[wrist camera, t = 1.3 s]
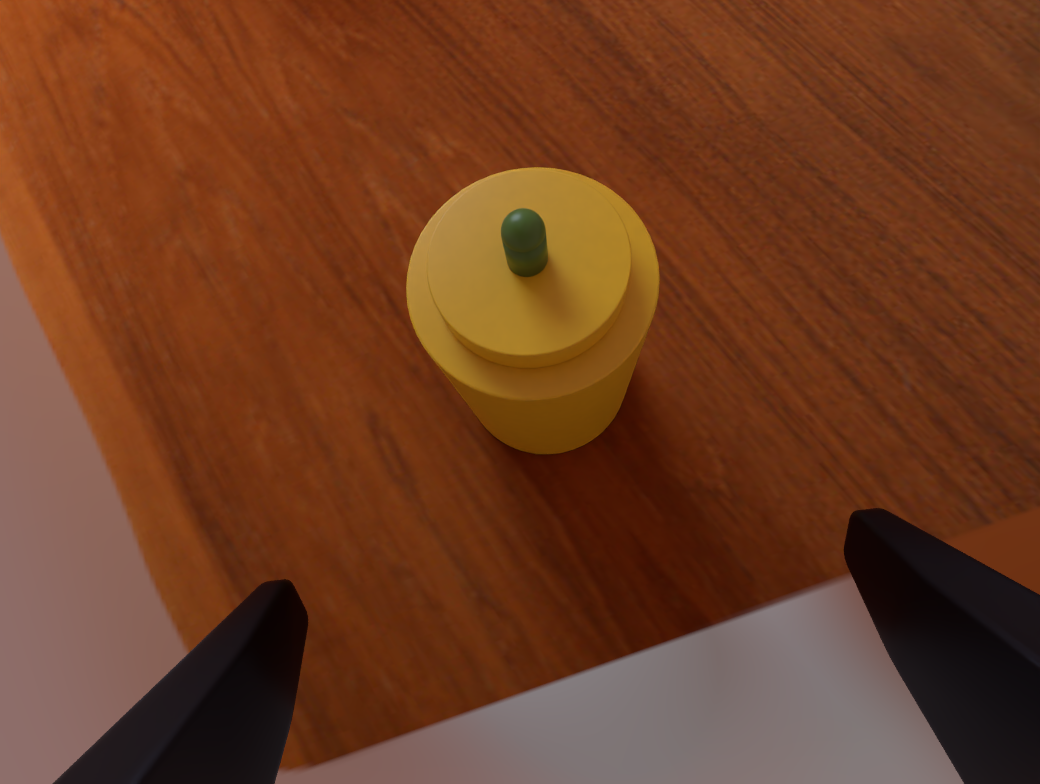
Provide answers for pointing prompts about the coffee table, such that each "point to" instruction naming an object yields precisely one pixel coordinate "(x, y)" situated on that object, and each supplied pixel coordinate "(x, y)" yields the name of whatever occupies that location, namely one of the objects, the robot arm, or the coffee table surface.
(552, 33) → the coffee table surface
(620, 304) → the pepper
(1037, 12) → the coffee table surface
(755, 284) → the coffee table surface
